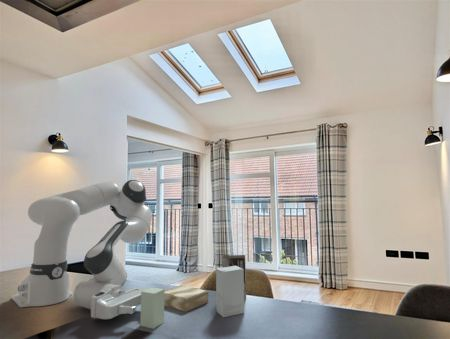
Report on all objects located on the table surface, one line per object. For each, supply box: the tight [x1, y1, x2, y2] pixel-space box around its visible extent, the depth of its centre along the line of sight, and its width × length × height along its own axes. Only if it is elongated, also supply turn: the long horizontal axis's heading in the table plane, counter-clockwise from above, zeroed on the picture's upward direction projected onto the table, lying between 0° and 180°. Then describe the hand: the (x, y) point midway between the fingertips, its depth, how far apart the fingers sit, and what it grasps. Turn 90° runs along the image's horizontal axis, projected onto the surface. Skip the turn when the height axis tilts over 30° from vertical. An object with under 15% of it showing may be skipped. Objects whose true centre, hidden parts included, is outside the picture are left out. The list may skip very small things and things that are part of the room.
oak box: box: [164, 284, 209, 313], centre depth 110 cm, size 14×12×4 cm
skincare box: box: [215, 266, 245, 318], centre depth 100 cm, size 8×6×15 cm
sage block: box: [139, 286, 166, 330], centre depth 91 cm, size 5×5×10 cm
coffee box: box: [221, 254, 247, 302], centre depth 116 cm, size 9×6×16 cm
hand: (144, 305), depth 93 cm, fingers open, 8 cm apart
